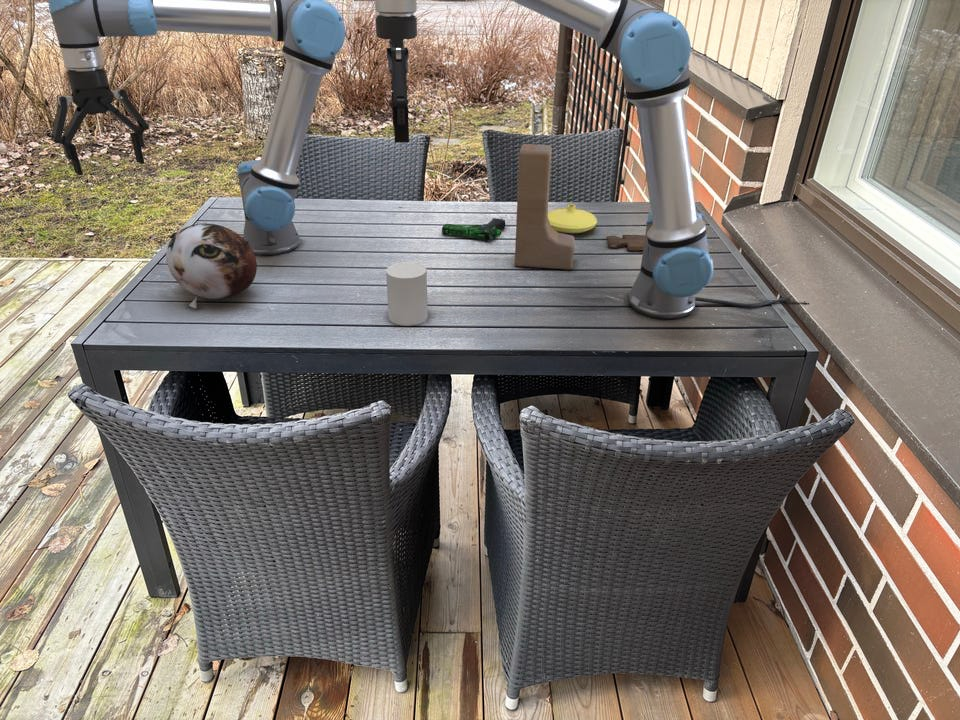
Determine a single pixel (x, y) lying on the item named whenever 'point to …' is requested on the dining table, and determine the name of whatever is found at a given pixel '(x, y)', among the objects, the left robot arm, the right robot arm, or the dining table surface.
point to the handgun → (476, 230)
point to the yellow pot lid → (571, 220)
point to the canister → (407, 293)
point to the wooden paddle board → (627, 241)
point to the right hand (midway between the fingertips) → (400, 133)
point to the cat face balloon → (211, 261)
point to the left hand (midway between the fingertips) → (110, 168)
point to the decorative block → (538, 214)
